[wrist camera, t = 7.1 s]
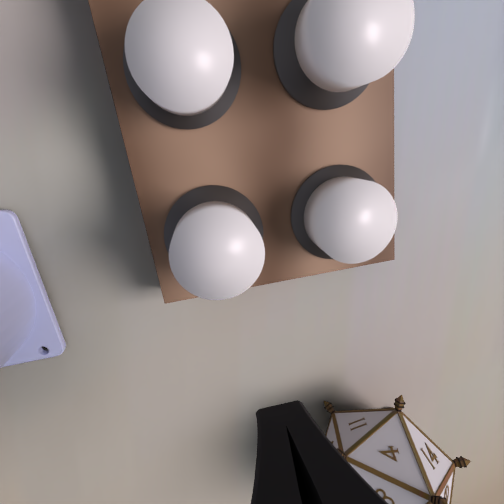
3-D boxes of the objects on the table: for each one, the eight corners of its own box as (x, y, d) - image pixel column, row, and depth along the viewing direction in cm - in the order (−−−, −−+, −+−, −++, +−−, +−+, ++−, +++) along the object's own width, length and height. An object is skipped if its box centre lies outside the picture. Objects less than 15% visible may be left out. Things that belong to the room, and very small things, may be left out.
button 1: (147, 121, 13) (139, 117, 12) (124, 17, 12) (111, -5, 10) (236, 109, 14) (241, 103, 12) (221, 6, 12) (224, -16, 11)
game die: (329, 365, 26) (421, 361, 17) (410, 443, 25) (549, 482, 16) (256, 469, 22) (324, 537, 13) (349, 563, 22) (487, 700, 13)
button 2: (182, 289, 14) (180, 308, 13) (164, 209, 13) (158, 218, 12) (262, 274, 15) (270, 290, 13) (251, 194, 14) (258, 201, 12)
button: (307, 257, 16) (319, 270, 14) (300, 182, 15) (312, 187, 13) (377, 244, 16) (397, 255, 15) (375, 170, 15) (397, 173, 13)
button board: (168, 287, 18) (164, 306, 16) (53, -184, 12) (20, -259, 10) (375, 248, 19) (398, 261, 17) (365, -200, 13) (398, -271, 11)
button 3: (299, 98, 13) (314, 90, 11) (289, -13, 12) (304, -40, 10) (386, 85, 13) (413, 77, 11) (385, -23, 12) (415, -51, 10)
